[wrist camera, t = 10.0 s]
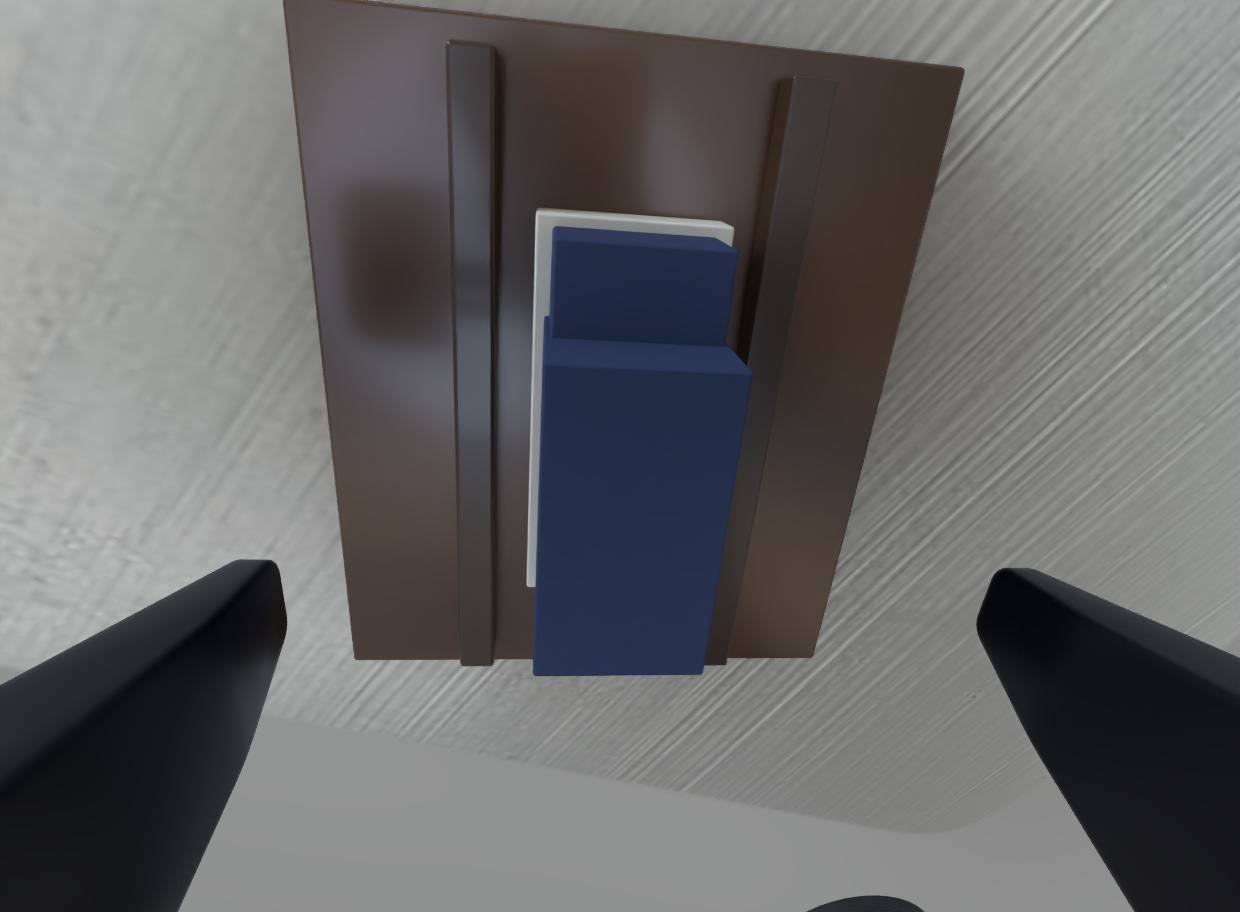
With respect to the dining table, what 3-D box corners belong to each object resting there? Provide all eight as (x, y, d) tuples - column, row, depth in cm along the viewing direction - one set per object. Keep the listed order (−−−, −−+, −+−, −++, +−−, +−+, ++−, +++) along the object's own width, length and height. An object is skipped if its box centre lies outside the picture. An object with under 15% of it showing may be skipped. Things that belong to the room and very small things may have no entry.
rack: (795, 623, 19) (824, 680, 17) (368, 622, 18) (344, 685, 16) (926, 74, 14) (993, 62, 12) (309, 6, 12) (260, -21, 10)
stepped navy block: (675, 564, 16) (711, 684, 13) (527, 562, 16) (521, 686, 12) (722, 221, 13) (789, 251, 9) (536, 207, 13) (532, 233, 9)
